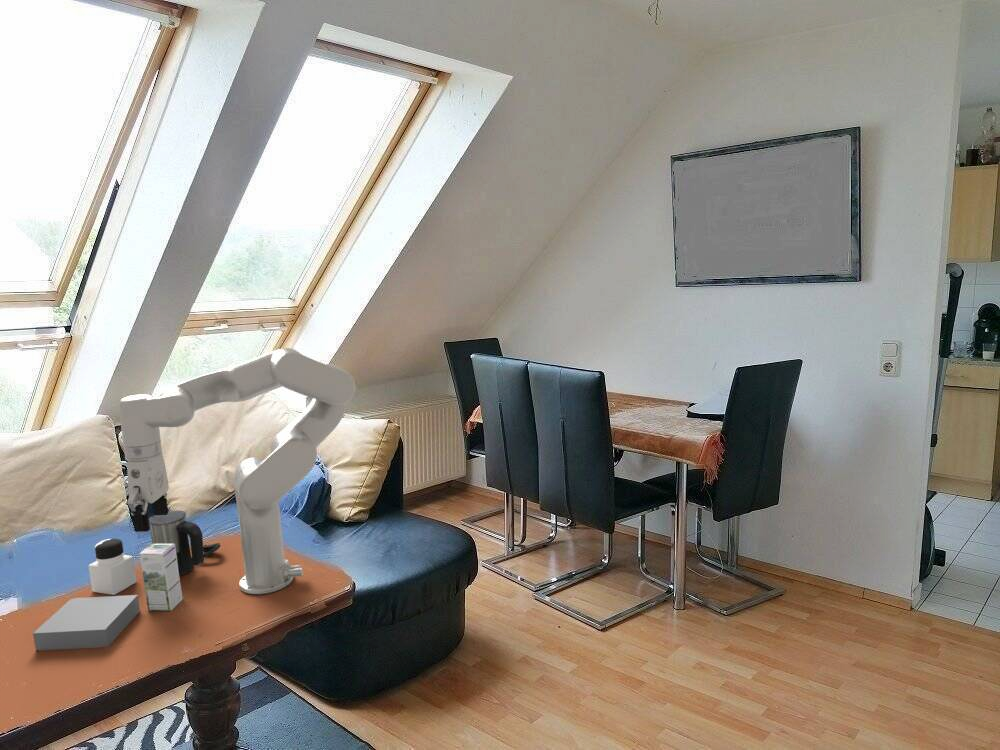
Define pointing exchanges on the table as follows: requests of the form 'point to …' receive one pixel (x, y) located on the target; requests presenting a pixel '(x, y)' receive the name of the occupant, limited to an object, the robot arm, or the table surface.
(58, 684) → the table surface
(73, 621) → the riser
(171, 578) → the syrup box
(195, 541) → the milk frother
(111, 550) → the medicine bottle
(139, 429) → the robot arm
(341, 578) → the table surface
